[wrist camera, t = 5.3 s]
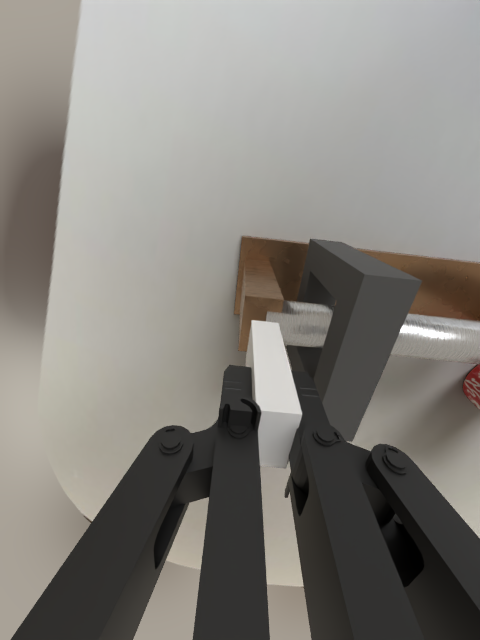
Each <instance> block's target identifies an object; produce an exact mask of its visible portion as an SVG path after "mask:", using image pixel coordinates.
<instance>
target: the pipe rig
mask: <svg viewBox="0 0 480 640" xmlns="http://www.w3.org/2000/svg"><path fill="white" fill-rule="evenodd" d="M308 247H309V243H304V242H295V241H286V240H277V239H269V238H260V237H251V236H242V242H241V252H240V261H239V271H238V280H237V290H236V299H235V309H234V314H239V315H240V323H239V346H238V351H246V352H247V348H248V341H249V335H250V328H251V321H252V320H256V321H265V322H275V323H279V327H280V331H281V334H282V338H283V342H284V345H294V346H304V347H314V348H323V346H324V342H325V339H326V335H327V332H328V328H329V325H330V322H331V318H332V315H333V311H334V308H335V305H336V302H335V305H325V304H315V303H306V302H297V297H298V292H299V288H300V283H301V279H302V274H303V270H304V265H305V260H306V256H307V251H308ZM355 249H356V248H355ZM357 250H359V251H361V252H363V253H365V254H367V255H369V256H372V257H374V258H376V259H378V260H380V261H382V262H384V263H386V264H388V265H390V266H392V267H395V268H397V269H399V270H401V271H403V272H405V273H407V274H409V275H411V276H413V277H415V278H418V279H420V280H422V283H421V285H420V287H419V290H418V292H417V294H416V296H415V299H414V301H413V303H412V306H411V308H410V310H409V312H408V315H407V317H406V319H405V322H404V324H403V326H402V328H401V331H400V333H399V335H398V338H397V340H396V342H395V345H394V347H393V349H392V351H391V354H390V355H393V356H403V357H413V358H423V359H433V360H443V361H452V362H462V363H472V364H480V262H471V261H462V260H453V259H444V258H436V257H427V256H418V255H409V254H400V253H392V252H383V251H374V250H365V249H357Z"/></svg>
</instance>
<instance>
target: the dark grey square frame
mask: <svg viewBox="0 0 480 640" xmlns="http://www.w3.org/2000/svg"><path fill="white" fill-rule="evenodd" d="M421 283H422V280H420V279H418V278H415V277H413V276H411V275H409V274H407V273H405V272H403V271H401V270H399V269H397V268H395V267H392V266H390V265H388V264H386V263H384V262H382V261H380V260H378V259H376V258H374V257H372V256H369V255H367V254H365V253H363V252H361V251H359V250H357V249H355V248H353V247H351V246H348V245H346V244H344V243H342V242H334V241H326V240H317V239H310V242H309V247H308V251H307V256H306V260H305V265H304V270H303V274H302V279H301V283H300V288H299V292H298V297H297V302H306V303H315V304H325V305H335V302H336V305H335V308H334V311H333V315H332V318H331V322H330V325H329V328H328V332H327V335H326V339H325V342H324V346H323V348H314V347H304V346H294V345H287V347H286V348H287V352H288V356H289V359H290V363H291V367H292V370H293V371H299V372H307V373H308V375H309V376H310V377H311V378H312V379H313V380H314V383H315V385H316V388H317V391H318V393H319V397H320V399H321V402H322V404H323V407H324V410H325V412H326V415H327V418H328V420H329V423H330V425H331V426H333V427H334V428H336V429H337V430H338V431H339V432H340V433H341V435H342V437H343V438H344V440H345V441H353V439H354V436H355V434H356V432H357V429H358V427H359V425H360V422H361V420H362V418H363V416H364V413H365V411H366V409H367V406H368V404H369V402H370V400H371V397H372V395H373V393H374V390H375V388H376V386H377V384H378V381H379V379H380V377H381V374H382V372H383V370H384V367H385V365H386V363H387V361H388V358H389V356H390V354H391V351H392V349H393V347H394V345H395V342H396V340H397V338H398V335H399V333H400V331H401V328H402V326H403V324H404V322H405V319H406V317H407V315H408V312H409V310H410V308H411V306H412V303H413V301H414V299H415V296H416V294H417V292H418V290H419V287H420V285H421Z"/></svg>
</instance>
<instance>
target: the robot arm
mask: <svg viewBox="0 0 480 640" xmlns="http://www.w3.org/2000/svg"><path fill="white" fill-rule="evenodd" d="M288 461H290V467H291V473H290V476H289V480H288V483H287V486H286V489H285V498H288V495H289V492H290V496H291V503H292V510H293V517H294V523H295V530H296V537H297V544H298V550H299V557H300V564H301V571H302V577H303V584H304V591H305V597H306V604H307V611H308V618H309V625H310V631H311V638H312V640H480V538H479V537H478V536H477V535H476V534H475V533H474V531H473V530H472V529H471V528H470V527H469V526H468V525H467V523H466V522H465V521H464V520H463V519H462V518H461V516H460V515H459V514H458V513H457V512H456V511H455V509H454V508H453V507H452V506H451V505H450V504H449V502H448V501H447V500H446V499H445V498H444V497H443V496H442V494H441V493H440V492H439V491H438V490H437V489H436V487H435V486H434V485H433V484H432V483H431V482H430V480H429V479H428V478H427V477H426V476H425V475H424V473H423V472H422V471H421V470H420V469H419V468H418V467H417V465H416V464H415V463H414V462H413V461H412V460H411V459H410V458H409V457H408V456H407V455H406V454H405V453H404V452H402V451H400V450H399V449H397V448H396V447H393V446H390V445H387V444H378V445H376V446H374V447H373V449H372V451H368V450H366V449H363V448H360V447H358V446H355V445H352V444H350V443H348V442H346V441H345V440H344V438H343V437H342V435H341V433H340V432H339V431H338V430H337V429H336V428H334V427H333V426H331V425H330V423H329V420H328V418H327V415H326V412H325V410H324V407H323V404H322V402H321V399H320V397H319V393H318V391H317V388H316V385H315V383H314V380H313V379H312V378H311V377H310V376H309V375H308V373H307V372H299V371H291V369H290V365H289V361H288V357H287V354H286V350H285V346H284V342H283V338H282V334H281V331H280V327H279V323H275V322H265V321H256V320H252V321H251V328H250V335H249V341H248V348H247V355H246V367H243V366H233V365H229V367H228V368H227V369H226V370H225V372H224V378H223V387H222V395H221V404H220V408H219V417H218V420H217V421H216V423H215V424H214V425H213V426H212V427H210V428H208V429H206V430H203V431H200V432H195V433H190V432H189V431H188V430H187V429H185V428H184V427H182V426H175V425H172V426H167V427H164V428H162V429H160V430H158V431H157V432H156V433H155V434H154V435H153V436H152V437H151V438H150V439H149V441H148V442H147V444H146V445H145V447H144V448H143V449H142V451H141V452H140V454H139V455H138V457H137V458H136V460H135V461H134V462H133V464H132V465H131V467H130V468H129V470H128V471H127V473H126V474H125V475H124V477H123V478H122V480H121V481H120V483H119V484H118V486H117V487H116V488H115V490H114V491H113V493H112V494H111V496H110V497H109V499H108V500H107V501H106V503H105V504H104V506H103V507H102V509H101V510H100V511H99V513H98V514H97V516H96V517H95V519H94V520H93V522H92V523H91V524H90V526H89V528H88V529H87V530H86V532H85V533H84V535H83V536H82V538H81V539H80V540H79V542H78V543H77V545H76V546H75V548H74V549H73V551H72V552H71V553H70V555H69V556H68V558H67V559H66V561H65V562H64V563H63V565H62V566H61V568H60V569H59V571H58V572H57V574H56V575H55V576H54V578H53V579H52V581H51V583H50V584H49V585H48V587H47V588H46V589H45V591H44V592H43V594H42V595H41V597H40V598H39V599H38V601H37V602H36V604H35V605H34V607H33V608H32V610H31V611H30V612H29V614H28V615H27V617H26V618H25V620H24V621H23V623H22V624H21V626H20V627H19V628H18V630H17V631H16V633H15V634H14V636H13V637H12V639H11V640H133V638H134V636H135V633H136V631H137V628H138V626H139V624H140V621H141V619H142V616H143V614H144V611H145V609H146V607H147V604H148V602H149V599H150V597H151V594H152V592H153V590H154V587H155V585H156V582H157V580H158V578H159V575H160V572H161V570H162V568H163V565H164V563H165V561H166V558H167V556H168V553H169V551H170V549H171V546H172V544H173V541H174V539H175V536H176V534H177V532H178V529H179V527H180V524H181V522H182V519H183V517H184V515H185V512H186V510H187V507H188V505H189V502H193V501H196V500H200V499H203V498H207V497H209V504H208V513H207V522H206V530H205V539H204V547H203V556H202V565H201V573H200V582H199V591H198V599H197V608H196V616H195V625H194V633H193V640H270V635H269V617H268V600H267V582H266V565H265V547H264V530H263V512H262V495H261V477H260V466H265V467H276V468H287V464H288Z"/></svg>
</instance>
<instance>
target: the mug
mask: <svg viewBox="0 0 480 640" xmlns="http://www.w3.org/2000/svg"><path fill="white" fill-rule="evenodd" d="M463 390H464V393H465V395H466V396H467V397H468V399H469V400H470V401H471V402H472V403H473V404H474V405H475V406H476V407H477V408H478V409H479V410H480V364H479V365H477V366H476V367H475V368H474V369H473V370H472V371H471V372H470V373H469V374H468V375H467V377H466V378H465V380H464V383H463Z"/></svg>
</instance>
